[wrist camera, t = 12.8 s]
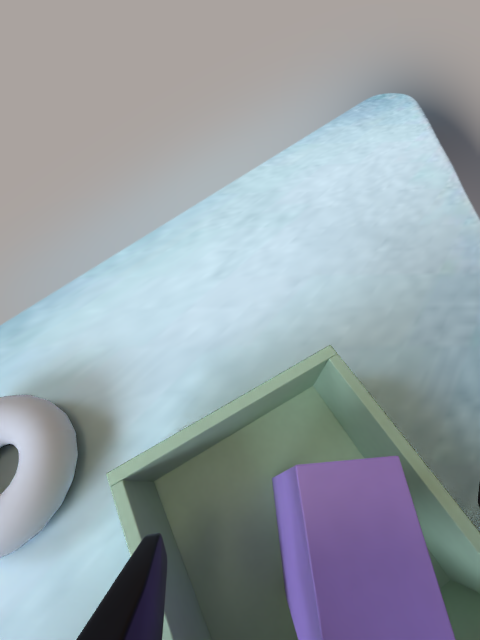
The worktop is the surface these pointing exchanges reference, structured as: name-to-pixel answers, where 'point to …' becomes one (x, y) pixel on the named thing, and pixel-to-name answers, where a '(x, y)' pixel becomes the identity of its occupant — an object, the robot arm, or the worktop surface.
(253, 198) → the worktop surface
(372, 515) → the purple rectangular block
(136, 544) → the green square tray
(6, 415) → the donut
